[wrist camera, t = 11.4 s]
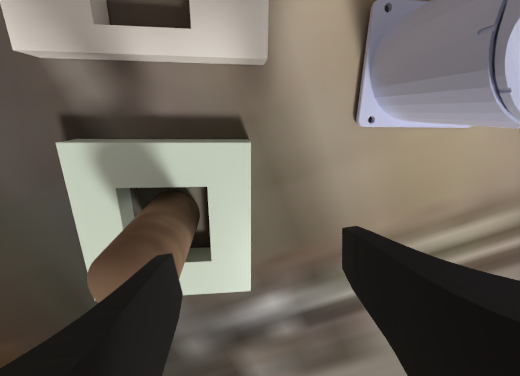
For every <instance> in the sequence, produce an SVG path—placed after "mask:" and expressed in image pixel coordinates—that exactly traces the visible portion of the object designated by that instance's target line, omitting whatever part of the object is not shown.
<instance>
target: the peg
mask: <svg viewBox="0 0 520 376" xmlns="http://www.w3.org/2000/svg"><path fill="white" fill-rule="evenodd" d="M199 219H200V212H199V208H198V206H197V204H196V202H195V201H194V200H193V199H192V198H191V197H190V196H188V195H187V194H185V193H182V192H179V191H166V192H162V193H160V194H158V195H157V196H155V197H154V198H153V199H152V200H151V201H150V202H149V203H148V204H147V205H146V207H145V208H144V209H143V210H142V211H141V212H140V213H139V214H138V215H137V216H136V217H135V218H134V219H133V220H132V221H131V222H130V223H129V224H128V225H127V226H126V227H125V228H124V230H123V231H122V232H121V233H120V234H119V235H118V236H117V237H116V238H115V239H114V240H113V241H112V242H111V243H110V244H109V245H108V246H107V247H106V248H105V249H104V250H103V251H102V253H101V254H100V255H99V256H98V257H97V258H96V259H95V260H94V261H93V262H92V264H91V266H90V268H89V270H88V274H87V283H88V287H89V290H90V292H91V294H92V296H93V297H94V298H95V300H96V301H97V302H98V303H99V302H101V301H102V300H103V299H104V298H106V297H107V296H108V295H110V294H111V293H112V292H113V291H115V290H116V289H117V288H118V287H119V286H121V285H122V284H123V283H124V282H125V281H127V280H128V279H129V278H130V277H131V276H132V275H134V274H135V273H136V272H137V271H138V270H139V269H141V268H142V267H143V266H144V265H145V264H147V263H148V262H149V261H150V260H151V259H153V258H154V257H155V256H157V255H162V254H169V253H172V254H173V258H174V262H175V266H176V269H177V273H178V277H179V278H180V275H181V272H182V269H183V266H184V263H185V260H186V258H187V255H188V252H189V249H190V246H191V243H192V240H193V237H194V234H195V231H196V228H197V225H198V222H199Z"/></svg>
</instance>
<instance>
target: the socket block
mask: <svg viewBox="0 0 520 376" xmlns="http://www.w3.org/2000/svg"><path fill="white" fill-rule="evenodd" d="M0 4H1V7H2V11H3V15H4V19H5V22H6V26H7V30H8V33H9V37H10V41H11V45H12V48H13V50H15V51H18V52H22V53H26V54H29V55H33V56H36V57H40V58H63V59H93V60H123V61H153V62H184V63H214V64H244V65H264V64H265V62H266V61H267V56H268V7H269V0H189V4H190V19H191V29H184V28H163V27H142V26H120V25H110V22H109V16H108V9H107V3H106V0H0Z"/></svg>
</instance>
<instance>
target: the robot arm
mask: <svg viewBox="0 0 520 376" xmlns="http://www.w3.org/2000/svg"><path fill="white" fill-rule="evenodd" d="M385 5H386V6H388V12H386V11H385V8H384V7H385ZM370 116H371V117H372V121H371V122H370V123H369V122H368V119H369V117H370ZM356 122H357V125H359V126H362V127H458V128H468V127H471V126H487V127H503V128H519V129H520V0H432V1H417V0H377V1H375V2H374V3H373V4H372V7H371V11H370V19H369V26H368V34H367V42H366V49H365V57H364V64H363V72H362V80H361V87H360V95H359V103H358V110H357V118H356ZM342 269H343V271H344V273H345V275H346V277H347V279H348V281H349V283H350V285H351V287H352V289H353V290H354V292H355V293H356V295H357V296H358V298H359V299H360V301H361V302H362V304H363V305H364V307H365V308H366V310H367V311H368V313H369V314H370V316H371V317H372V319H373V320H374V322H375V323H376V325H377V326H378V327H379V329H380V330H381V332H382V333H383V335H384V336H385V338H386V339H387V341H388V342H389V344H390V346H391V347H392V349H393V350H394V352H395V354H396V356H397V357H398V359H399V361H400V363H401V365H402V366H403V368H404V370H405V372H406V373H407V375H408V376H520V281H518V280H514V279H510V278H506V277H502V276H498V275H494V274H490V273H486V272H482V271H478V270H475V269H471V268H468V267H465V266H461V265H458V264H455V263H451V262H448V261H445V260H442V259H439V258H436V257H433V256H431V255H428V254H425V253H423V252H420V251H417V250H415V249H412V248H409V247H407V246H404V245H402V244H400V243H397V242H395V241H392V240H390V239H388V238H385V237H383V236H381V235H378V234H376V233H374V232H371V231H369V230H366V229H364V228H361V227H358V226H353V227H346V228H342ZM182 295H183V293H182V289H181V285H180V281H179V277H178V273H177V269H176V266H175V262H174V258H173V254H172V253H169V254H162V255H157V256H155V257H154V258H153V259H151V260H150V261H149V262H148V263H147V264H145V265H144V266H143V267H142V268H141V269H139V270H138V271H137V272H136V273H135V274H134V275H132V276H131V277H130V278H129V279H128V280H127V281H125V282H124V283H123V284H122V285H121V286H119V287H118V288H117V289H116V290H115V291H113V292H112V293H111V294H110V295H108V296H107V297H106V298H104V299H103V300H102V301H101V302H99V303H98V304H97V305H96V306H94V307H93V308H92V309H91V310H89V311H88V312H87V313H85V314H84V315H82V316H81V317H80V318H78V319H77V320H76V321H74V322H73V323H71V324H70V325H68V326H67V327H65V328H64V329H62V330H61V331H60V332H58V333H57V334H55V335H54V336H52V337H51V338H49V339H48V340H46V341H44V342H43V343H41V344H39V345H38V346H36V347H35V348H33V349H31V350H30V351H28V352H27V353H25V354H23V355H22V356H20V357H19V358H17V359H15V360H14V361H12V362H10V363H9V364H7V365H5V366H4V367H2V368H0V376H162V373H163V370H164V367H165V363H166V360H167V357H168V353H169V350H170V347H171V343H172V340H173V336H174V333H175V329H176V326H177V322H178V319H179V314H180V308H181V302H182Z"/></svg>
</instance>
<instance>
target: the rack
mask: <svg viewBox="0 0 520 376" xmlns="http://www.w3.org/2000/svg"><path fill="white" fill-rule="evenodd" d="M56 146H57V150H58V154H59V159H60V163H61V167H62V171H63V175H64V179H65V183H66V187H67V191H68V195H69V199H70V203H71V207H72V211H73V215H74V219H75V223H76V227H77V231H78V236H79V240H80V244H81V248H82V252H83V256H84V260H85V264H86V268H87V272H88V270H89V268H90V266H91V264H92V262H93V261H94V260H95V259H96V258H97V257H98V256H99V255H100V254H101V253H102V251H103V250H104V249H105V248H106V247H107V246H108V245H109V244H110V243H111V242H112V241H113V240H114V239H115V238H116V237H117V236H118V235H119V234H120V233H121V232H122V231H123V230H124V228H125V227H126V226H127V225H128V224H129V223H130V222H131V221H132V220H133V219H134V212H133V206H132V200H131V194H130V188H158V187H207V190H208V207H209V225H210V242H211V247H206V248H190V249H189V252H188V255H187V258H186V260H185V263H184V266H183V269H182V272H181V275H180V278H179V281H180V285H181V289H182V293H183V295H193V294H209V293H225V292H242V291H251V142H250V140H249V139H73V140H68V141H62V142H56ZM94 300H95V298H94Z"/></svg>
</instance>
